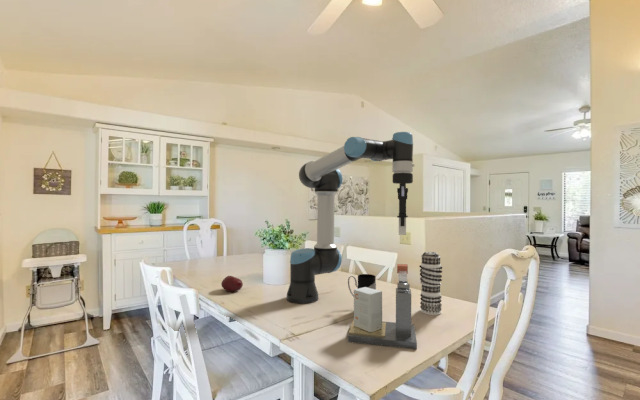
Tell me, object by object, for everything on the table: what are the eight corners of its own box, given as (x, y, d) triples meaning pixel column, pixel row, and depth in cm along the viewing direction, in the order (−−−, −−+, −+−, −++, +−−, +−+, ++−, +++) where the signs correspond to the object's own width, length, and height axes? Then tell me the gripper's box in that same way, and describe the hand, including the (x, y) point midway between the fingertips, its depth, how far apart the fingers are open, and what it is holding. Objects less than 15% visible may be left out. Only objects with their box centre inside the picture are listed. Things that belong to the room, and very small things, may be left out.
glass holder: (369, 316, 131) (369, 279, 131) (342, 308, 141) (342, 274, 141) (380, 311, 137) (381, 275, 138) (354, 303, 147) (354, 271, 147)
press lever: (397, 290, 110) (397, 280, 110) (397, 272, 131) (397, 263, 131) (409, 291, 109) (409, 281, 109) (407, 272, 130) (407, 264, 130)
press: (347, 342, 107) (347, 293, 107) (353, 324, 123) (354, 282, 123) (416, 349, 102) (416, 298, 102) (414, 329, 118) (414, 285, 118)
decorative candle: (439, 316, 131) (440, 255, 131) (416, 312, 136) (417, 253, 136) (444, 310, 139) (444, 252, 139) (422, 306, 144) (422, 250, 144)
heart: (226, 294, 159) (243, 293, 166) (227, 278, 160) (245, 277, 167) (215, 289, 168) (232, 288, 175) (217, 274, 169) (234, 274, 176)
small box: (382, 328, 112) (382, 291, 113) (370, 333, 108) (370, 294, 109) (365, 321, 119) (365, 286, 119) (353, 326, 115) (353, 289, 115)
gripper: (413, 171, 117) (413, 236, 117) (411, 174, 129) (411, 233, 129) (392, 171, 118) (392, 236, 118) (392, 174, 131) (392, 232, 131)
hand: (402, 234), depth 124 cm, fingers closed
